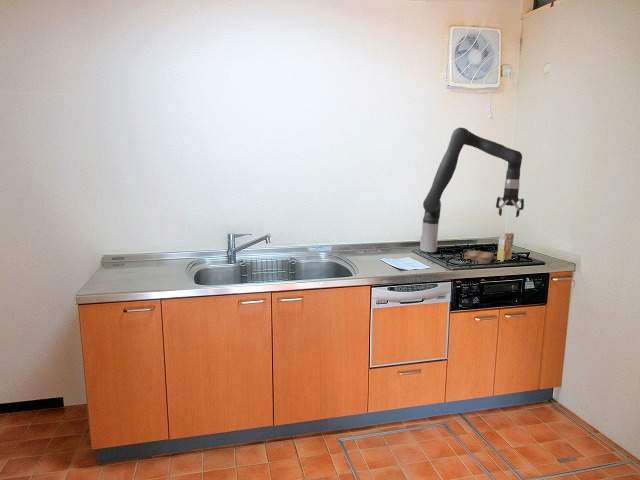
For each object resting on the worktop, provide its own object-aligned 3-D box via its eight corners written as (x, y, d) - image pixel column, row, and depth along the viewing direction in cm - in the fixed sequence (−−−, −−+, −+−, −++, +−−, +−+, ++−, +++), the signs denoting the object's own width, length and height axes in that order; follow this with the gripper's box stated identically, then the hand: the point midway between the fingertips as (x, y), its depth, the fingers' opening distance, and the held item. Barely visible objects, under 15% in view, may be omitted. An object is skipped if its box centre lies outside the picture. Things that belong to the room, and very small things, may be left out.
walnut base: (463, 259, 263) (463, 254, 263) (468, 254, 275) (468, 249, 275) (489, 263, 257) (489, 257, 256) (493, 258, 269) (493, 253, 268)
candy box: (504, 258, 270) (507, 232, 267) (511, 259, 267) (514, 233, 264) (496, 260, 264) (499, 233, 261) (503, 261, 261) (506, 235, 258)
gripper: (497, 187, 257) (494, 216, 260) (525, 188, 251) (521, 218, 254) (499, 186, 264) (496, 214, 267) (526, 187, 257) (523, 216, 260)
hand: (508, 216), depth 260 cm, fingers open, 8 cm apart
